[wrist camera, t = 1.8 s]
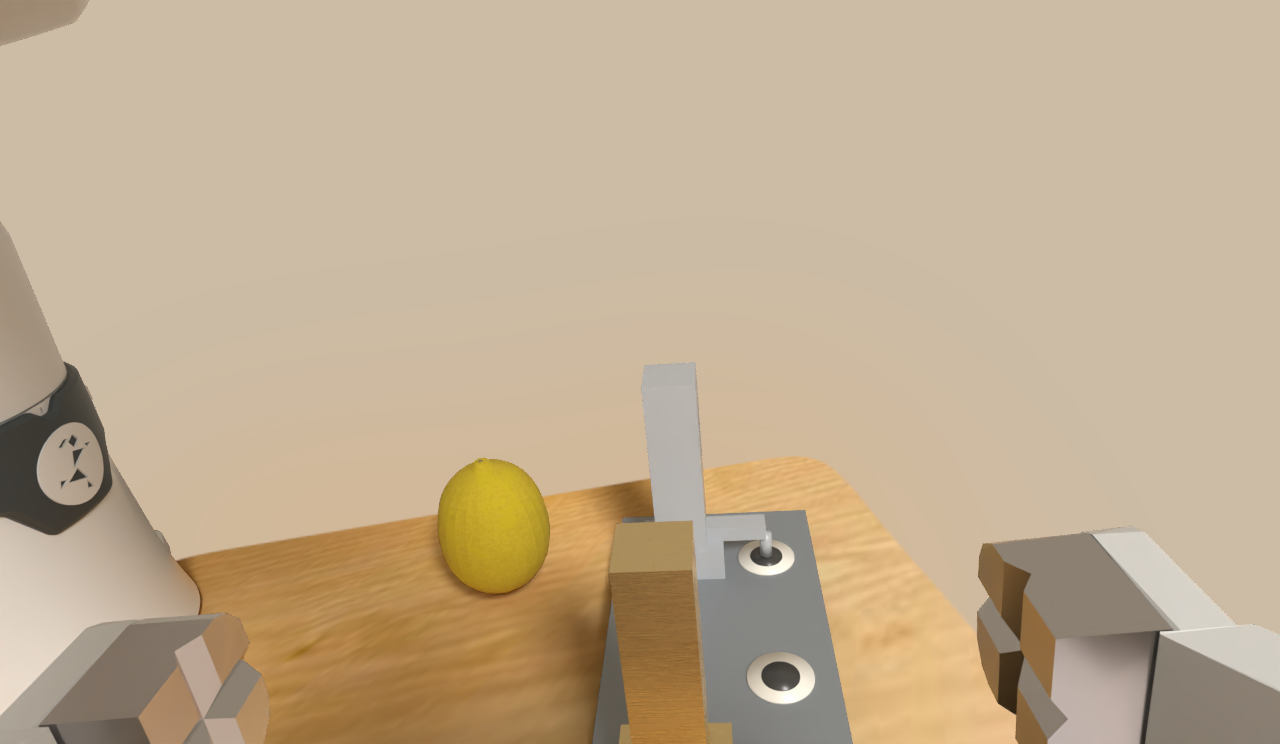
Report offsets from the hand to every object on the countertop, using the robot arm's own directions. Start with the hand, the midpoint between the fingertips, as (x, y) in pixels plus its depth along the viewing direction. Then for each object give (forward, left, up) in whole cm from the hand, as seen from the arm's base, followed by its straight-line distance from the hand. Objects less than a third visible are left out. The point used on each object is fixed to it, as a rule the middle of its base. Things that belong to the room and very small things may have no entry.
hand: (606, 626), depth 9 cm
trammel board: (+1, +21, -22) cm, 30 cm away
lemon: (-10, +27, -22) cm, 36 cm away
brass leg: (0, +13, -20) cm, 24 cm away
